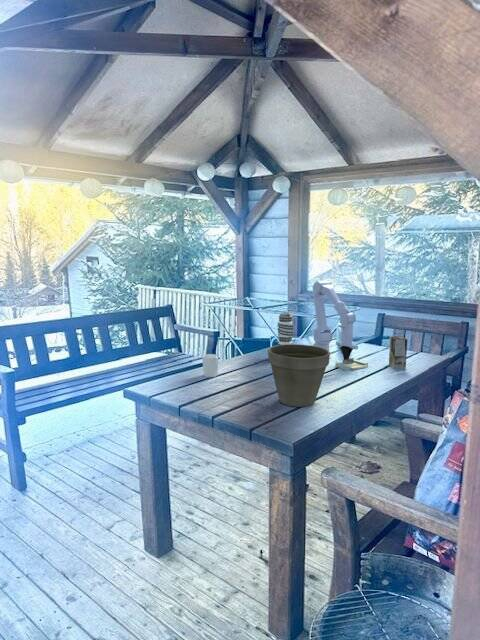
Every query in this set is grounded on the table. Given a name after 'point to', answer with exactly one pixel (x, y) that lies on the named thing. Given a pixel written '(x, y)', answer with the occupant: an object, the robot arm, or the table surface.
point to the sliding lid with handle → (353, 364)
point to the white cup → (210, 365)
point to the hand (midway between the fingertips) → (346, 360)
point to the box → (347, 367)
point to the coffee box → (398, 352)
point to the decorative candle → (285, 329)
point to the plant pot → (298, 372)
